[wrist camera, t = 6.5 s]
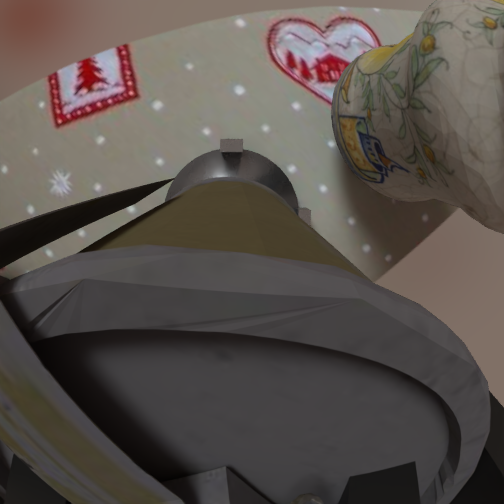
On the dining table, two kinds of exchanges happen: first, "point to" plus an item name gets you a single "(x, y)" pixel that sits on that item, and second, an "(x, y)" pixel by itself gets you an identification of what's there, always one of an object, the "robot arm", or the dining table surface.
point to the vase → (431, 111)
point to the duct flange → (238, 172)
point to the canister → (223, 360)
